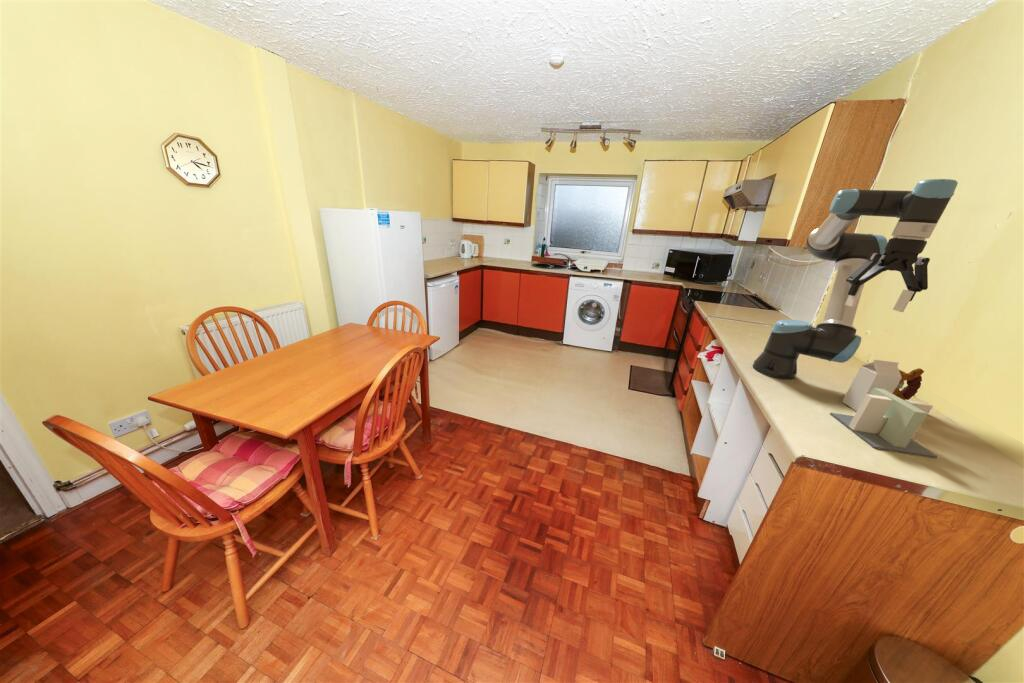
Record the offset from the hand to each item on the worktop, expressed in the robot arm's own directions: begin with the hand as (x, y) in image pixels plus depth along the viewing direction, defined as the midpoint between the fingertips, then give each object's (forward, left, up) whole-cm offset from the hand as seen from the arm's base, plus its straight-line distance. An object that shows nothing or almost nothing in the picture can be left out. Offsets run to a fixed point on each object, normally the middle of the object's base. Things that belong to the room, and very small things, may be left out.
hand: (873, 308), depth 103 cm
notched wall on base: (+14, +7, -37) cm, 40 cm away
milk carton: (-3, +14, -37) cm, 39 cm away
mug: (-13, +28, -37) cm, 48 cm away
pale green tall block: (+14, +7, -36) cm, 39 cm away
